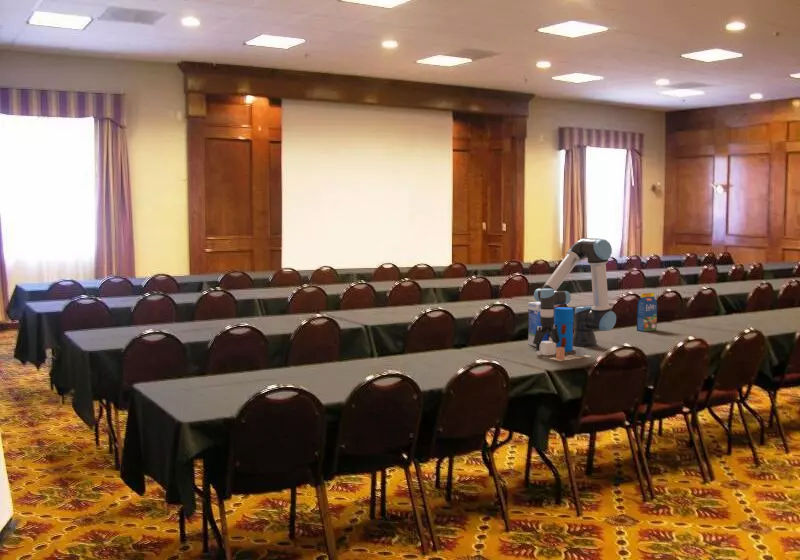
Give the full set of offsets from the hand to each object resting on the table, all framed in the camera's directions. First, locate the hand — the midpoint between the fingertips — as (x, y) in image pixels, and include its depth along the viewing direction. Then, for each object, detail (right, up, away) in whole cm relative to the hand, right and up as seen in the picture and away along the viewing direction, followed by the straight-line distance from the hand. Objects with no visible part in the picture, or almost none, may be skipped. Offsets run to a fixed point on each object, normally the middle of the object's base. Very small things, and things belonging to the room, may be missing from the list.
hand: (546, 355), depth 481 cm
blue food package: (+82, +9, +90) cm, 122 cm away
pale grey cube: (+18, 0, -6) cm, 19 cm away
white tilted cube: (0, 0, 0) cm, 0 cm away
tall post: (+5, 0, -13) cm, 14 cm away
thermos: (+12, +1, +13) cm, 17 cm away
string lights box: (+1, +3, +32) cm, 32 cm away
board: (+11, -1, -10) cm, 15 cm away
